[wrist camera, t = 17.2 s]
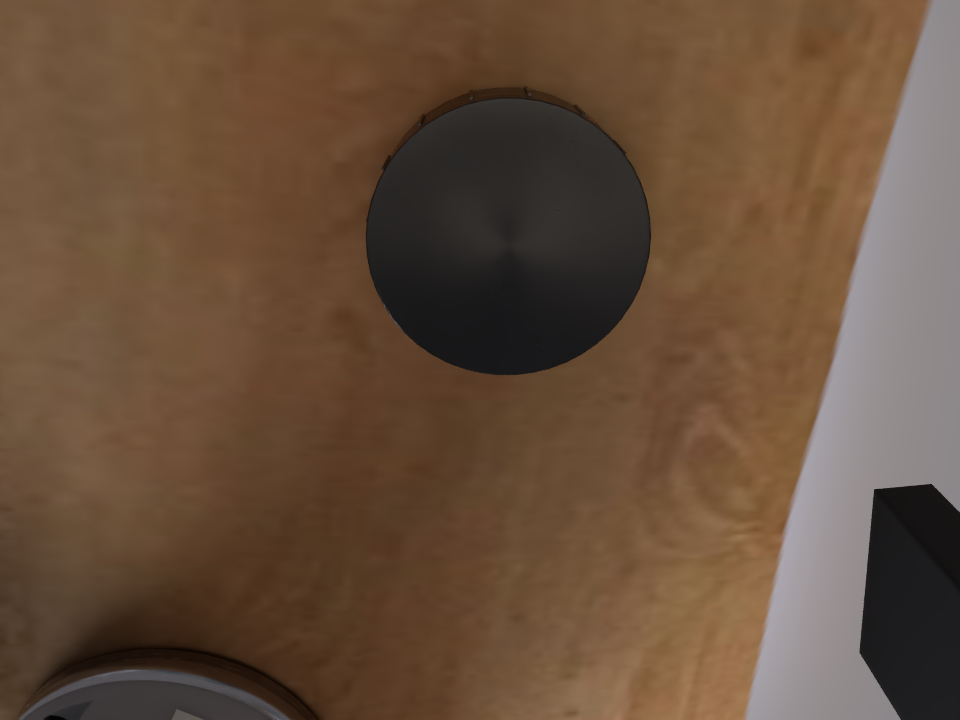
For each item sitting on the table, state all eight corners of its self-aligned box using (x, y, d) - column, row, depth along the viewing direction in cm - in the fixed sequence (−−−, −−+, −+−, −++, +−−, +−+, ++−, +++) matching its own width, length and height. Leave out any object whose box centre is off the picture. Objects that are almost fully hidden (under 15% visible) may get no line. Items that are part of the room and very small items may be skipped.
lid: (328, 162, 30) (312, 179, 27) (571, 38, 28) (582, 42, 25) (448, 380, 33) (445, 416, 30) (672, 278, 31) (692, 306, 28)
